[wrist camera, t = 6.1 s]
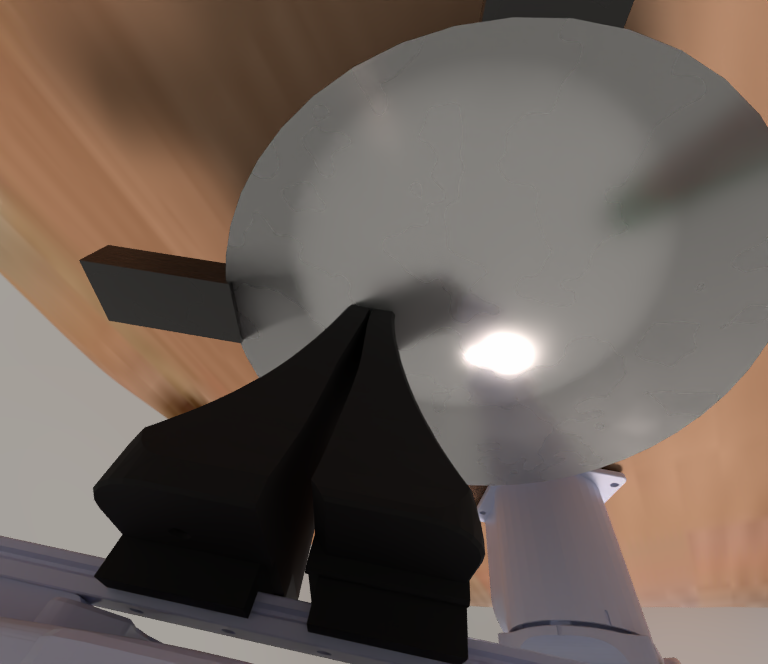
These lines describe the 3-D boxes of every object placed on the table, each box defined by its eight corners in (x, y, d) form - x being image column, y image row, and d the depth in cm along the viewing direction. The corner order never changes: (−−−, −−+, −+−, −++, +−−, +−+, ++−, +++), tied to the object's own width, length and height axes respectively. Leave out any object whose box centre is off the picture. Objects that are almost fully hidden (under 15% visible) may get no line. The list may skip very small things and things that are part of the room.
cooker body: (565, 405, 21) (593, 486, 17) (303, 360, 22) (271, 426, 18) (883, -97, 9) (1240, -231, 5) (267, -146, 10) (143, -291, 6)
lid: (595, 492, 16) (604, 518, 15) (179, 414, 18) (164, 433, 17) (988, 69, 7) (1078, 69, 6) (-12, -37, 8) (-74, -51, 7)
